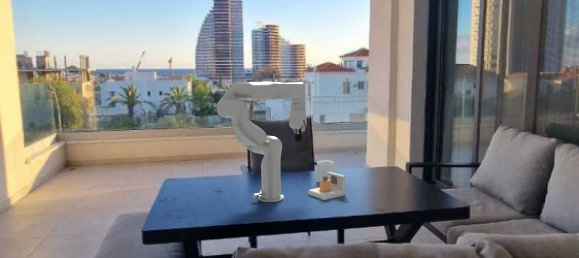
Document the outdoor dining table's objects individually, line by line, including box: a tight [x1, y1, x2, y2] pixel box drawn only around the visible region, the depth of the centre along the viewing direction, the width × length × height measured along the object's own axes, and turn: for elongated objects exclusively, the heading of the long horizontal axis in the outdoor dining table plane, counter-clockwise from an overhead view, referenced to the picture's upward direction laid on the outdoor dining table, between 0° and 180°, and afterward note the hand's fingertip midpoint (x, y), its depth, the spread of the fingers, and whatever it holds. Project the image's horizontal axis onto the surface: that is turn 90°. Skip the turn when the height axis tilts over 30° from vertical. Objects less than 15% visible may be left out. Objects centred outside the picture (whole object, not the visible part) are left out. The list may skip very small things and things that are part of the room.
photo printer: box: [315, 159, 335, 183], centre depth 251 cm, size 10×4×12 cm, turn 98°
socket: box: [308, 171, 346, 201], centre depth 225 cm, size 14×12×10 cm
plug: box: [319, 176, 331, 193], centre depth 225 cm, size 4×4×10 cm
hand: (298, 141), depth 232 cm, fingers closed
